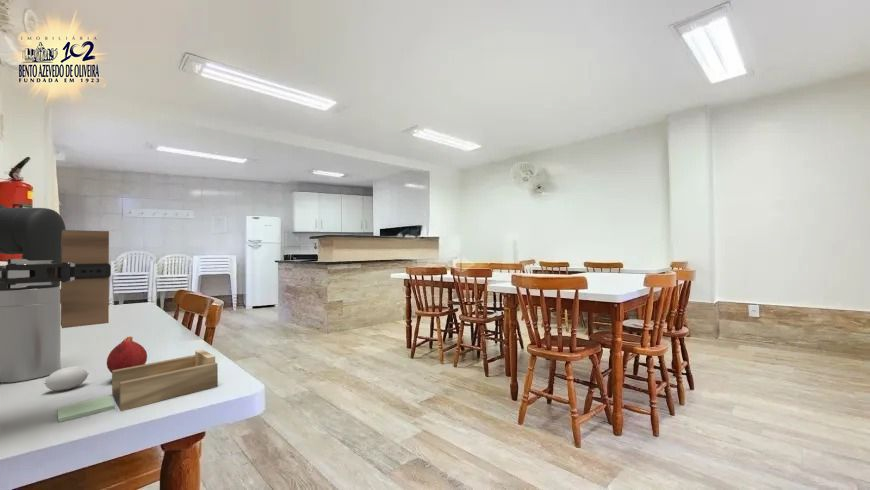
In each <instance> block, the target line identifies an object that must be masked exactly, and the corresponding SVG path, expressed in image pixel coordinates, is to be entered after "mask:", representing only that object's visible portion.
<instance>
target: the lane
mask: <svg viewBox="0 0 870 490" xmlns="http://www.w3.org/2000/svg"><path fill="white" fill-rule="evenodd" d="M194 353H195V354H192V355H187V356H182V357H177V358H171V359H166V360H161V361H155V362H151V363H145V364H144V365H139V366H133V367H128V368H123V369H118V370H112V373H111V395H112V396H113V399H114V400H115V403H116V404H117V406H118V408H119V410H120V411H121V412H122V411H123V412H124V411H127V410H131V409H134V408H138V407H142V406H146V405H149V404H154V403H158V402H161V401H166V400H170V399H173V398H178V397H181V396H186V395H189V394H194V393H197V392H201V391H206V390H209V389H212V388H217V386H219V385H218V378H219V376H218V373H219V371H218V362H216V356H215V355H213V354H211V353H210V352H208V351H206V350H204V349H199V350H195V351H194Z"/></svg>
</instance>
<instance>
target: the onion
mask: <svg viewBox="0 0 870 490" xmlns="http://www.w3.org/2000/svg"><path fill="white" fill-rule="evenodd" d="M133 337H134V336H130V335H129V336H126V337H124V339H123V340H122V341H121V342H119V344H117V345H116V346H114V348H112V350H111V351H110V352H109V354H108V355H107V358H106V367H107V369H108V371H109V372H110V373H111V374H112V370H118V369H123V368H128V367H133V366H139V365H144V364H147V361H148V354H147V350H146V349H145V348H144V346H142V345H141V344H140V343H138V342H136V341H133Z"/></svg>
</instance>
